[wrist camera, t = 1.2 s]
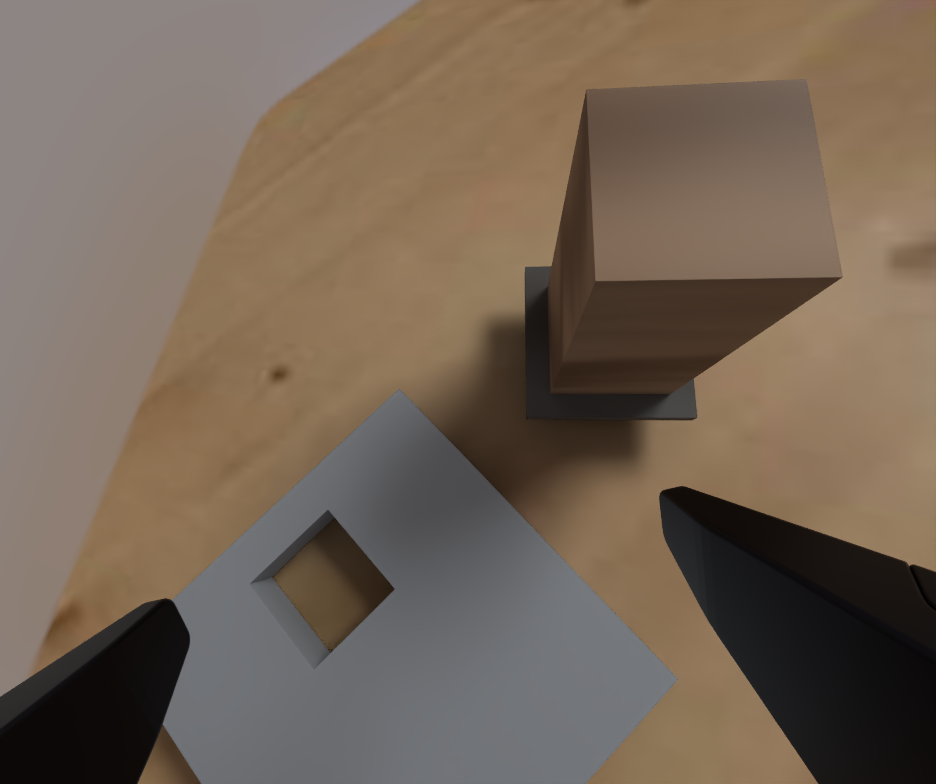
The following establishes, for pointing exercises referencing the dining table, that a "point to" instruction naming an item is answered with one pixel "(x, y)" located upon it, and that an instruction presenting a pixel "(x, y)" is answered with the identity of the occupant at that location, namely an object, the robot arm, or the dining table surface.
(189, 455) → the dining table surface
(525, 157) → the dining table surface
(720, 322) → the walnut peg
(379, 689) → the slate board
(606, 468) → the dining table surface
